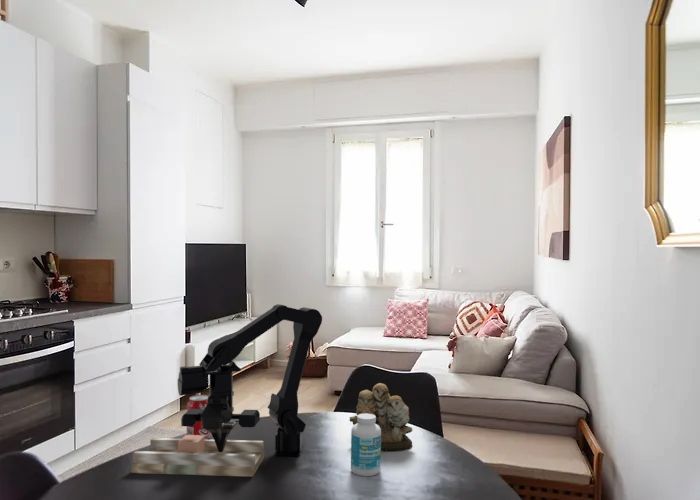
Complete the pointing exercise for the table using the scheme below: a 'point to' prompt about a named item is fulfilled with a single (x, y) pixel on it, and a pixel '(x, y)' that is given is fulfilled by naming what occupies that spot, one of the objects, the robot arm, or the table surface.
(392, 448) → the owl figurine
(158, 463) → the lane board
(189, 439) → the block
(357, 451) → the pill bottle
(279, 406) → the robot arm
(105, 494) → the table surface
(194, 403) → the soda can
